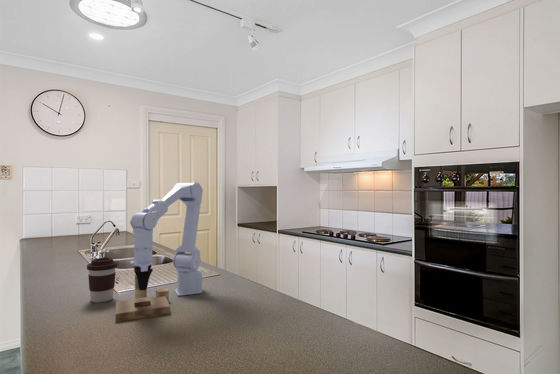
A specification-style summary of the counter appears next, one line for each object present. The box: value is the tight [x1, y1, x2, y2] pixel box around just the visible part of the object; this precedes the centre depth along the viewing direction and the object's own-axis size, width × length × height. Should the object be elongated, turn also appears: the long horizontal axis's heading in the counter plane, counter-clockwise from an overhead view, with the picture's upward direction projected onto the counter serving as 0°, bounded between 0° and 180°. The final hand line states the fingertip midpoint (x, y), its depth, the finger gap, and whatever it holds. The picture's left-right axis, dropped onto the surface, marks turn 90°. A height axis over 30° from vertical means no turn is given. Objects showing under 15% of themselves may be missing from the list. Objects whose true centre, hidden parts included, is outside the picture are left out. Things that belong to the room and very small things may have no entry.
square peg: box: [134, 274, 148, 300], centre depth 109 cm, size 4×4×7 cm
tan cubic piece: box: [155, 287, 170, 303], centre depth 120 cm, size 4×4×4 cm
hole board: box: [115, 296, 171, 323], centre depth 109 cm, size 16×12×2 cm
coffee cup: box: [86, 257, 118, 304], centre depth 121 cm, size 10×10×15 cm
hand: (142, 288), depth 109 cm, fingers closed on square peg, 3 cm apart
